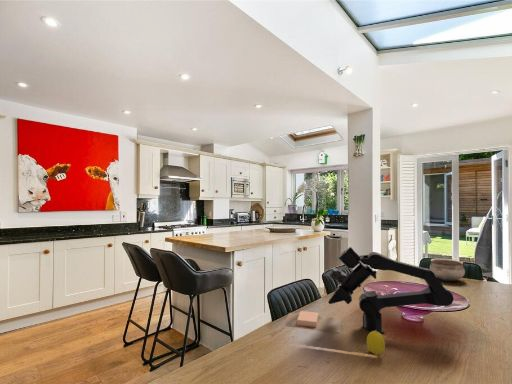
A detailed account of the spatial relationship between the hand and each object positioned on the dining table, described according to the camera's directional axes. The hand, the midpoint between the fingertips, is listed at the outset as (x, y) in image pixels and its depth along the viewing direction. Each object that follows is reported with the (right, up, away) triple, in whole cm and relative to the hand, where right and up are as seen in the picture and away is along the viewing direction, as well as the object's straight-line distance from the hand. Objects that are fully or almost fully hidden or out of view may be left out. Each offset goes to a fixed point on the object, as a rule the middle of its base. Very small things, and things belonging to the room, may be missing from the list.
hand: (329, 303), depth 118 cm
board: (-6, -9, +2) cm, 11 cm away
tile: (-4, -7, +1) cm, 9 cm away
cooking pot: (+93, -12, +69) cm, 117 cm away
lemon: (+9, -8, -23) cm, 26 cm away
